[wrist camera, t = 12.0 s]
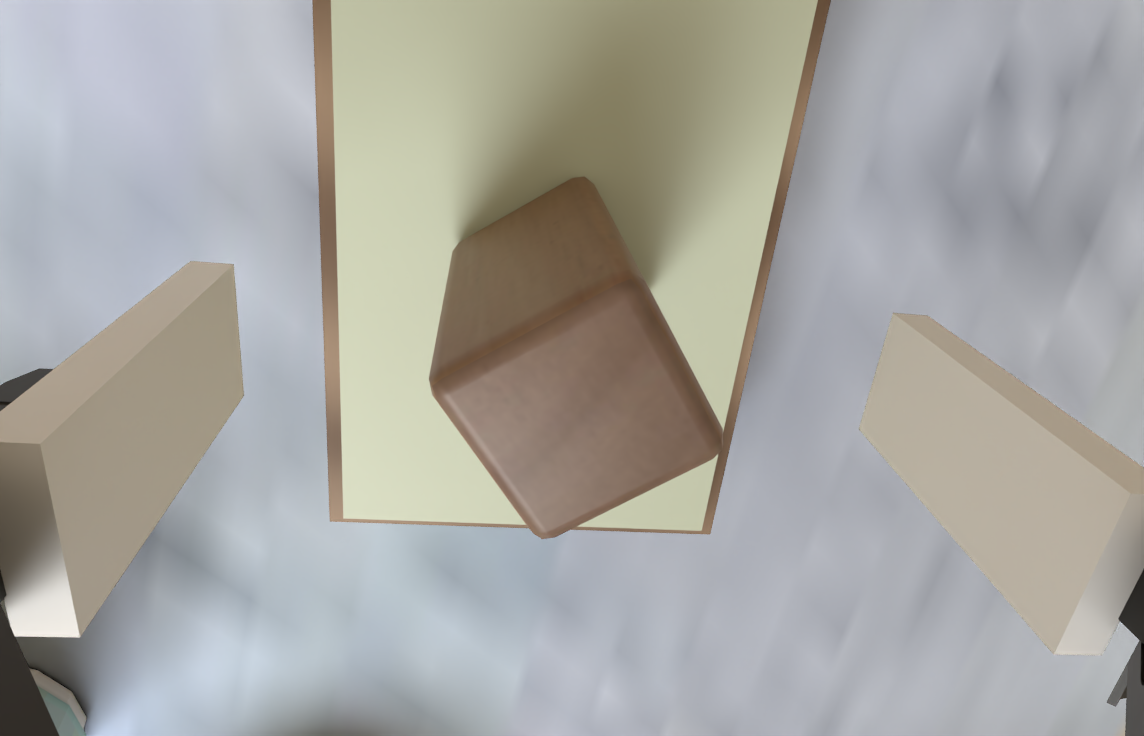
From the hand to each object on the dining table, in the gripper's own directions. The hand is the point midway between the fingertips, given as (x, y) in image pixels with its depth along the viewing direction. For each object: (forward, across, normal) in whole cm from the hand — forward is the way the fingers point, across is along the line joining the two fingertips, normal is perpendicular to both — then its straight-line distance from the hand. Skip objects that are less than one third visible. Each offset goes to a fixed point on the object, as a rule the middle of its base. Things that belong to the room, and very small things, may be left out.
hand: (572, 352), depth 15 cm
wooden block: (+5, 0, 0) cm, 5 cm away
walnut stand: (+10, 0, 0) cm, 10 cm away
